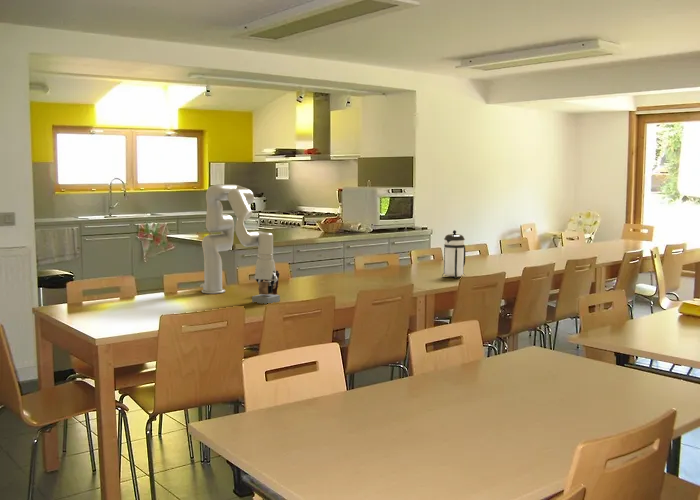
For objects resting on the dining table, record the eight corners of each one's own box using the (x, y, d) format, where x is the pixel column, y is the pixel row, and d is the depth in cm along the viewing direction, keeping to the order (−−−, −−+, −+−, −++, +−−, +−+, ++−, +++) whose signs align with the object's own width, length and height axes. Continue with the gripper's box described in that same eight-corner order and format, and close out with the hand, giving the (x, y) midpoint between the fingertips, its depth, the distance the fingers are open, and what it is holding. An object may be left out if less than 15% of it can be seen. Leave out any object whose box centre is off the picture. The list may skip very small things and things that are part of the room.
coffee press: (468, 279, 448) (469, 231, 444) (443, 278, 448) (444, 231, 445) (464, 275, 465) (465, 229, 462) (440, 275, 465) (441, 228, 462)
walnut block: (258, 293, 363) (258, 282, 362) (264, 292, 367) (264, 280, 367) (266, 294, 360) (266, 283, 360) (272, 293, 365) (272, 281, 364)
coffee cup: (276, 296, 380) (276, 272, 378) (261, 295, 381) (261, 271, 380) (281, 293, 388) (281, 270, 387) (266, 293, 390) (266, 269, 388)
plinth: (252, 302, 363) (252, 296, 362) (264, 299, 371) (264, 293, 371) (268, 304, 358) (268, 298, 357) (279, 301, 366) (279, 295, 366)
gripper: (247, 256, 363) (248, 292, 365) (274, 259, 354) (275, 295, 356) (257, 255, 369) (257, 290, 371) (283, 257, 361) (283, 293, 363)
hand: (265, 292), depth 364 cm, fingers closed on walnut block, 4 cm apart
